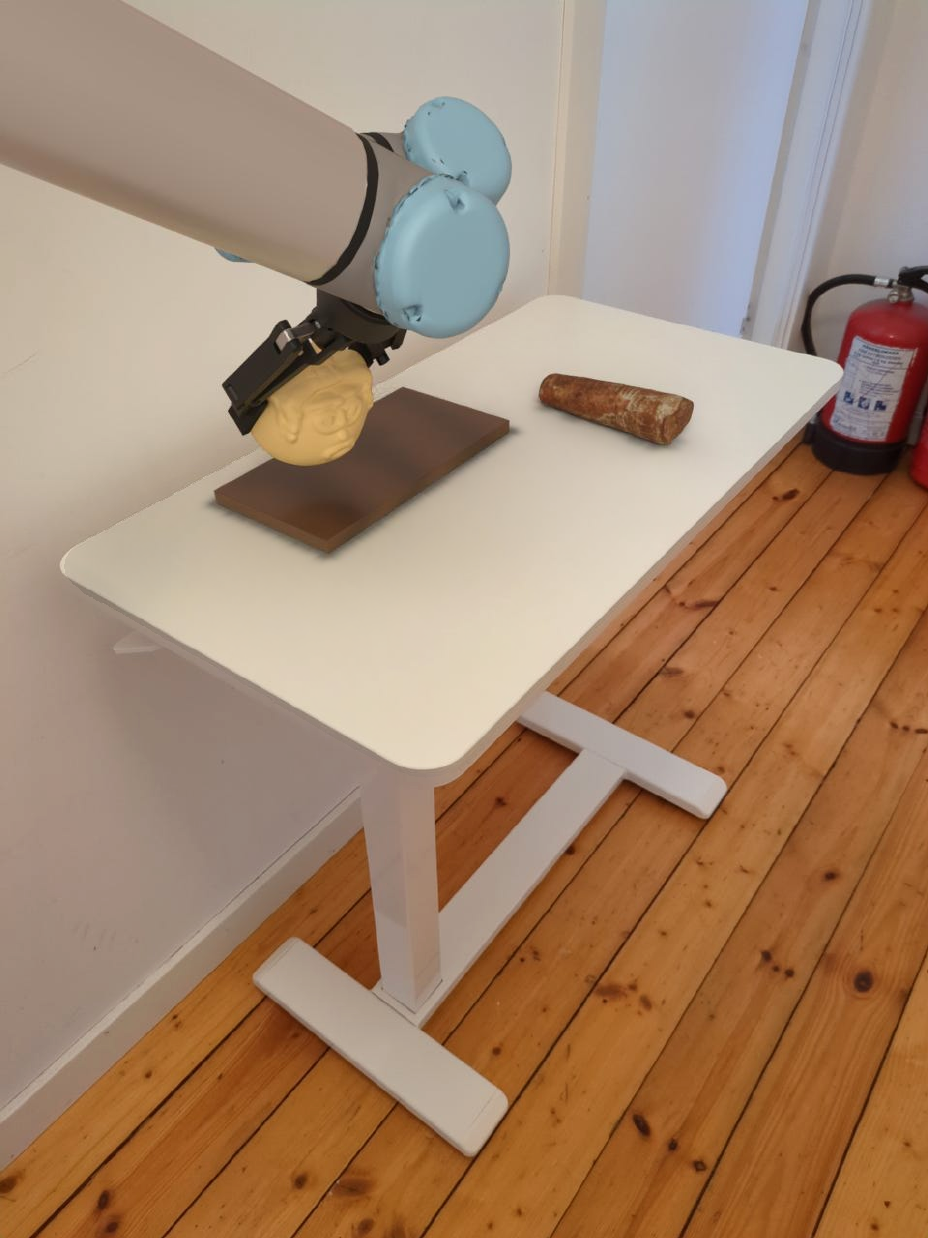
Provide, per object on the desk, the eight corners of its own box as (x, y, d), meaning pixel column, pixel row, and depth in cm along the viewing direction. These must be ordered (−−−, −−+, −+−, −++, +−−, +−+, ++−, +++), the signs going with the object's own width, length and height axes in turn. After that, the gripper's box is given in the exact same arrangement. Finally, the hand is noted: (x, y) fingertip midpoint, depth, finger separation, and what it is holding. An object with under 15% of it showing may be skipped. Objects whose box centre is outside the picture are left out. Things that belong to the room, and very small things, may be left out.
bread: (667, 457, 97) (673, 410, 94) (529, 408, 108) (530, 364, 104) (696, 435, 101) (703, 389, 98) (560, 390, 111) (562, 347, 108)
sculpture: (302, 493, 83) (284, 383, 76) (231, 450, 90) (208, 346, 83) (395, 449, 89) (387, 344, 82) (322, 412, 96) (308, 312, 89)
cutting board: (328, 554, 85) (326, 540, 84) (216, 502, 92) (213, 490, 91) (509, 431, 103) (509, 419, 102) (403, 397, 111) (402, 386, 110)
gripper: (274, 365, 63) (205, 479, 82) (507, 280, 76) (402, 396, 95) (219, 272, 63) (162, 407, 82) (462, 202, 76) (365, 334, 94)
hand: (291, 401), depth 88 cm, fingers closed on sculpture, 11 cm apart
